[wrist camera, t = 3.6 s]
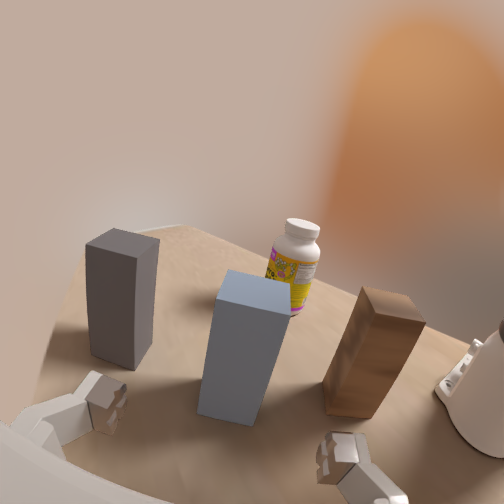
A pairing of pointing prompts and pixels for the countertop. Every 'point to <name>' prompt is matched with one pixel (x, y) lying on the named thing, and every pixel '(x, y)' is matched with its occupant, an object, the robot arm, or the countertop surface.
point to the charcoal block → (121, 295)
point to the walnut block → (371, 353)
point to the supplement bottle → (295, 260)
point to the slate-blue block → (243, 346)
